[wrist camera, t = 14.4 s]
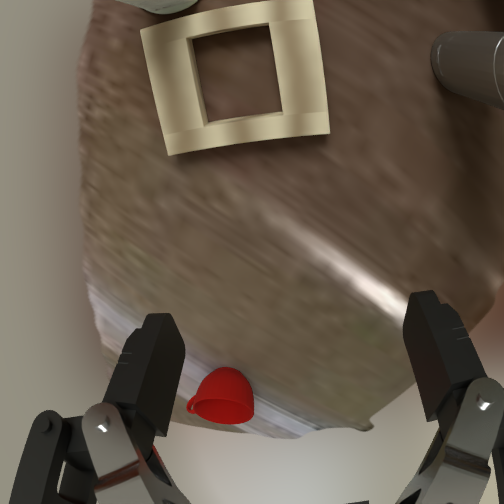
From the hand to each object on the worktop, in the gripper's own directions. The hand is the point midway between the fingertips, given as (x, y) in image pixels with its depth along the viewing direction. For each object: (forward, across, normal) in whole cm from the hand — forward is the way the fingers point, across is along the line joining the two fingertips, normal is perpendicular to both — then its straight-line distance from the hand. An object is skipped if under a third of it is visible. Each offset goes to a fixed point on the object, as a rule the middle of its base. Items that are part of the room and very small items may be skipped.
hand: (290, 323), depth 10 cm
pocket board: (+33, +4, -7) cm, 34 cm away
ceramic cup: (+33, +19, +53) cm, 65 cm away
